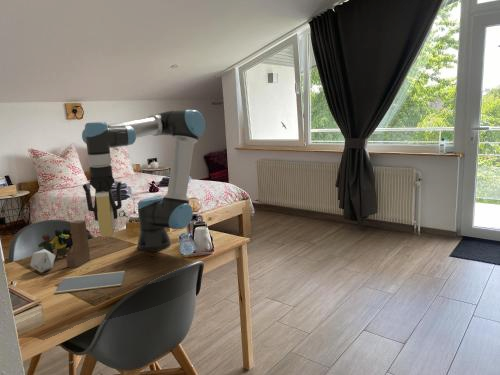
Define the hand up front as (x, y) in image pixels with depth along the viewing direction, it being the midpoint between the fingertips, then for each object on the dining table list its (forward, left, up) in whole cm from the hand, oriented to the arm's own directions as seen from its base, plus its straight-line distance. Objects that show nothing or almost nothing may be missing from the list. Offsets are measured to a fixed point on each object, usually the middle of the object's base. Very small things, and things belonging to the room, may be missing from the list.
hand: (107, 227), depth 146 cm
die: (+30, -19, -21) cm, 41 cm away
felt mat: (+8, 0, -21) cm, 22 cm away
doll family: (+25, -37, -21) cm, 49 cm away
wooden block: (+17, -22, -21) cm, 35 cm away
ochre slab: (0, 0, -2) cm, 2 cm away
